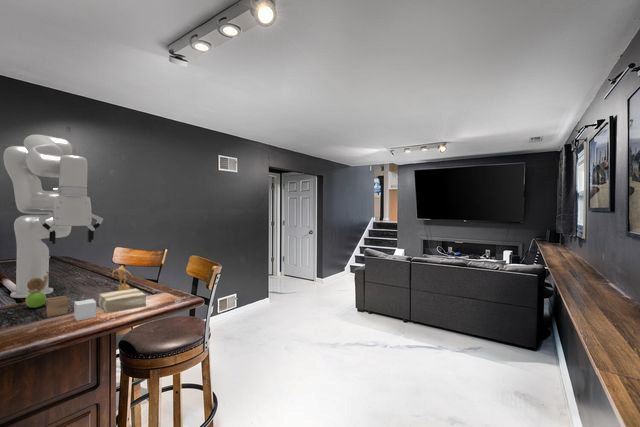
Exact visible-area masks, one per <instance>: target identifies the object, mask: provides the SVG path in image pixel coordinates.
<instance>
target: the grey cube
mask: <svg viewBox="0 0 640 427" xmlns="http://www.w3.org/2000/svg"><path fill="white" fill-rule="evenodd" d="M73 303H74V304H73V305H74V306H73V317H74V319H75V320H76V322H77V321H83V320H88V319H93V318H97V301H96V300H95V299H94V298H90V299H84V300H83V299H82V300H78V301H77V300H76V301H74V302H73Z"/></svg>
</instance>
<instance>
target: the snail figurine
mask: <svg viewBox="0 0 640 427" xmlns="http://www.w3.org/2000/svg"><path fill="white" fill-rule="evenodd" d="M46 273H48V275H45V276H44V281H43V280H42V279H40V278H33V279H31V280H30V281H29V282H28V284H27V287H28V289H30V290H28V292H29V293H31V294H29V295H28V296H27V298H25V304H26V306H27V307H28V308H31V309H36V308H39V307H42V306H43V305H44V304H46V298H47V296H46V295H47V294H46V295H45V294H44V293H42V292H40V291H42V290H43V289H44V288H45V287H46V284H47V281H48V282H49V273H50V271H49V272H48V271H47V272H46Z"/></svg>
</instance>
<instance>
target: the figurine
mask: <svg viewBox="0 0 640 427" xmlns="http://www.w3.org/2000/svg"><path fill="white" fill-rule="evenodd" d="M115 272H117V273H118V275H117V276H118V278H119V284H120V286H119V287H118V290H117V291H121V290H128V289H131V286H130V285H129V284H127V283H126V281H127V280H128V277H127V276H126V274H124V273H128V275H129V276H131V277H132V278H134V277H133V275H132V274H131V273H130V271H128V270H126V269H125V268H124V265H121V266H120V267H118V268H116V269H115V270H112V273H111V277H112V278H114V276H115V275H114V274H115ZM122 281H123V283H122Z"/></svg>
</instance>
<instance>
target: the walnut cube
mask: <svg viewBox="0 0 640 427" xmlns="http://www.w3.org/2000/svg"><path fill="white" fill-rule="evenodd" d="M45 304H46V306H45V308H46V309H45V314H46V316H47V317H48V318H49V317H56V316H61V315H62V316H63V315H67V314H69V310H68V309H69V298H68V297H67V296H66V295H61V296H55V297H48V298H47V297H46V302H45Z"/></svg>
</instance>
